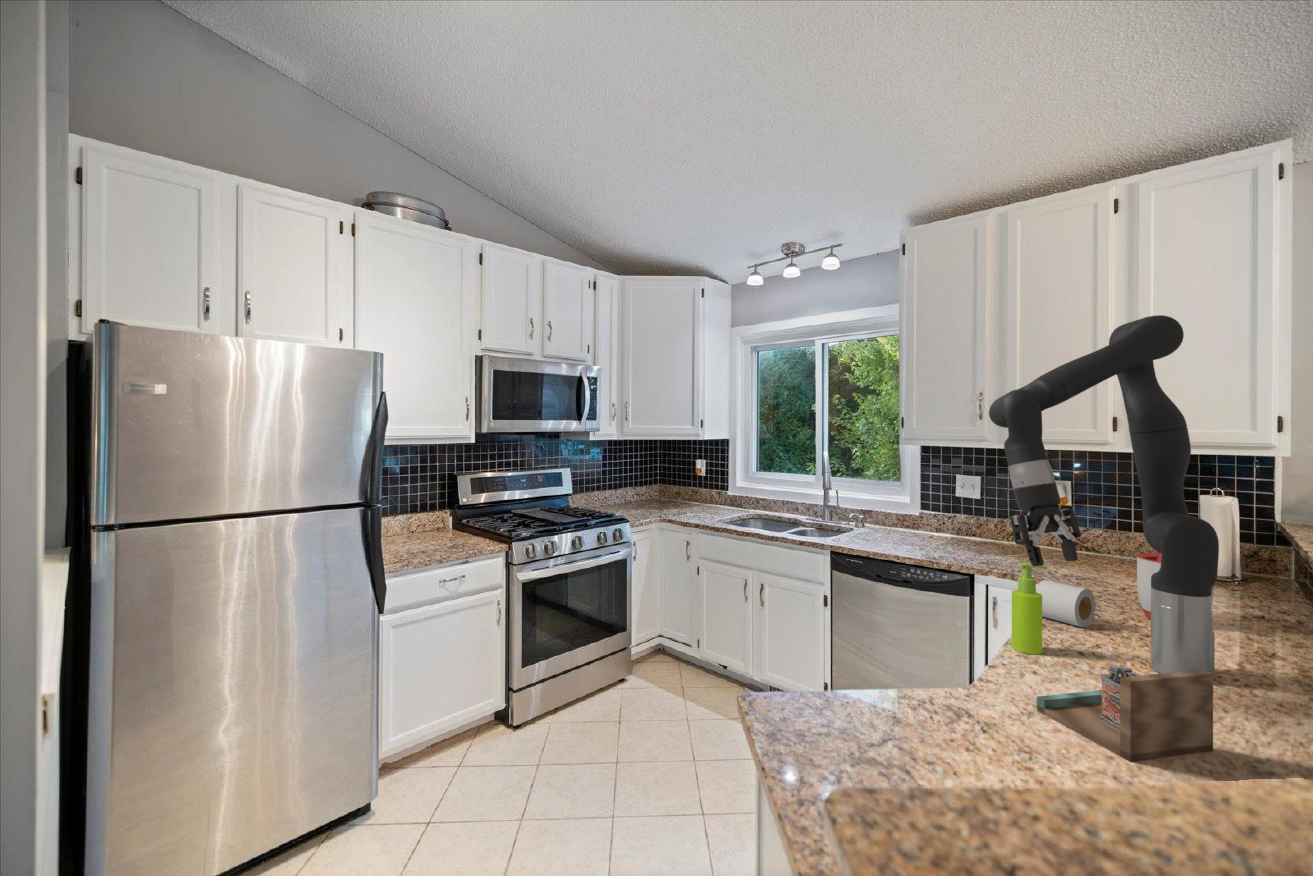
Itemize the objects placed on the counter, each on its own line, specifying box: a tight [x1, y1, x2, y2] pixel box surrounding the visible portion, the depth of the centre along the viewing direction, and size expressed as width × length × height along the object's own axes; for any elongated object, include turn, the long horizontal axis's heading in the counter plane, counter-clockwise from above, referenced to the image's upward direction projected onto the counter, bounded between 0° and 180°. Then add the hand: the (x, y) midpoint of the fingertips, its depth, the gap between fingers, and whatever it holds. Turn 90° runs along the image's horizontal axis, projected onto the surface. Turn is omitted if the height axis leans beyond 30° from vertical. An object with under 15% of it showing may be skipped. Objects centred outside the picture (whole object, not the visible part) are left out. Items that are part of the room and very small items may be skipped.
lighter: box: [1099, 663, 1143, 732], centre depth 90 cm, size 8×3×10 cm, turn 8°
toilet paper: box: [1036, 579, 1097, 628], centre depth 148 cm, size 10×10×10 cm
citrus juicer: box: [1135, 552, 1214, 619], centre depth 148 cm, size 16×17×20 cm
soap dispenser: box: [1011, 562, 1049, 655], centre depth 127 cm, size 6×7×20 cm
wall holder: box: [1036, 670, 1214, 763], centre depth 92 cm, size 16×16×12 cm
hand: (1055, 563), depth 111 cm, fingers open, 8 cm apart
